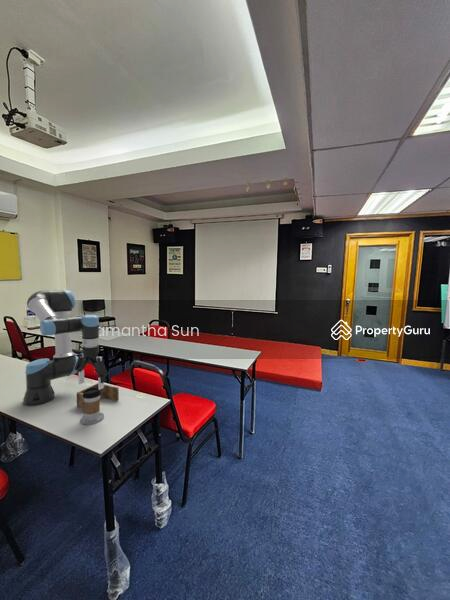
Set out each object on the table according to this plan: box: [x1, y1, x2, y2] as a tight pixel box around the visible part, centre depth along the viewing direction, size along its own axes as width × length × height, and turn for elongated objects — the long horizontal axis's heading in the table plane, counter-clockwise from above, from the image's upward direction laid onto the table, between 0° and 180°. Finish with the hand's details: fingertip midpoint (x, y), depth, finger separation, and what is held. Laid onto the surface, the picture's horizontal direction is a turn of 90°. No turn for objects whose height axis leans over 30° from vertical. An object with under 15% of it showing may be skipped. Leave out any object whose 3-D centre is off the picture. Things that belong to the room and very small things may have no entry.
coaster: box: [79, 412, 105, 426], centre depth 134 cm, size 11×11×1 cm
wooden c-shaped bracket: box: [76, 382, 120, 413], centre depth 150 cm, size 16×15×8 cm
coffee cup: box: [83, 388, 101, 421], centre depth 133 cm, size 8×8×15 cm
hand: (91, 385), depth 133 cm, fingers open, 13 cm apart
